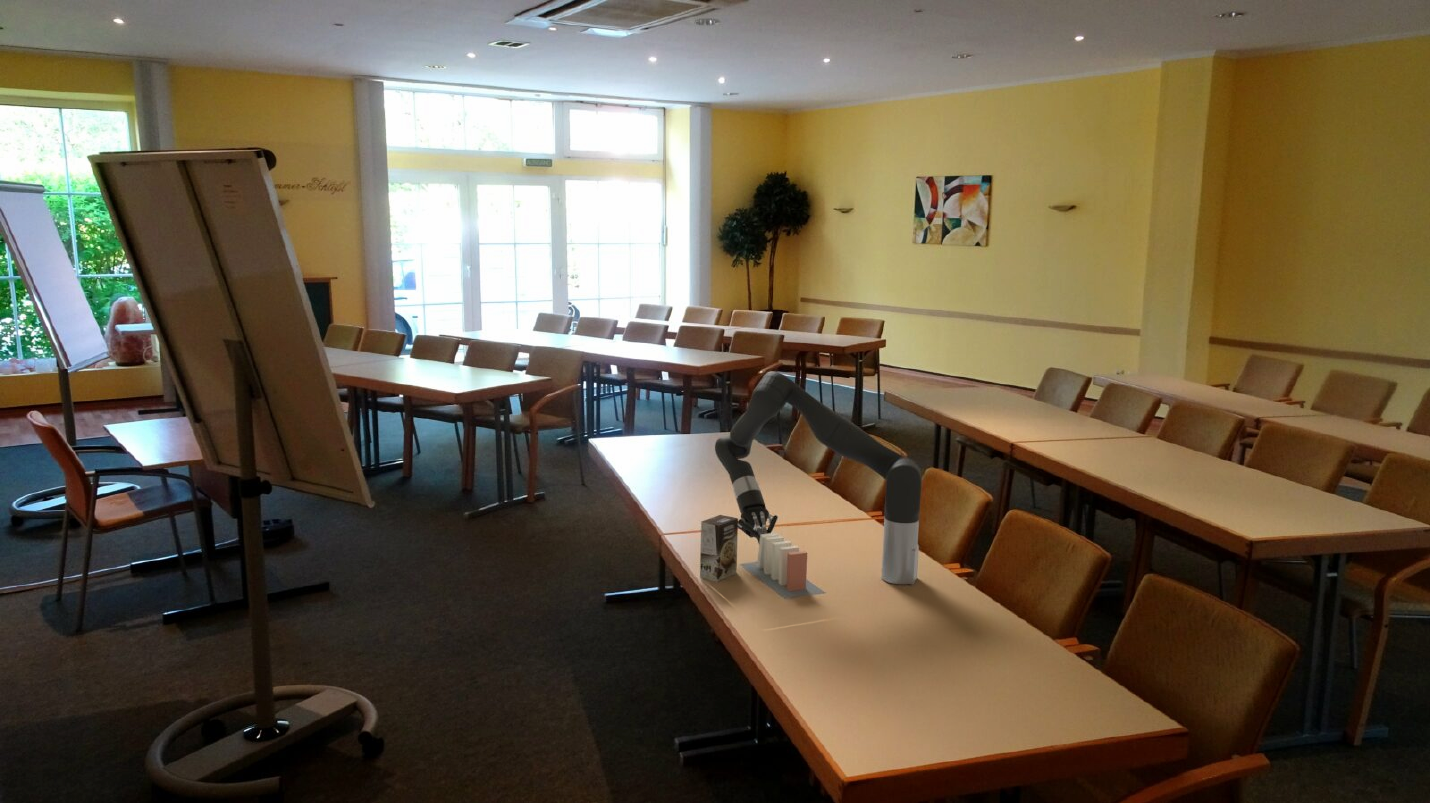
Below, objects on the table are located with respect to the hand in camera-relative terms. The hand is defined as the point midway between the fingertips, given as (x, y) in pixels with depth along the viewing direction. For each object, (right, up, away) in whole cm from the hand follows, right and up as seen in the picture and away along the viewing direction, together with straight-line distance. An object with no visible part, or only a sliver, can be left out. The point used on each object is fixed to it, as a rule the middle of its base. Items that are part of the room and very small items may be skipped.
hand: (766, 548), depth 269 cm
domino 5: (+7, -8, -16) cm, 19 cm away
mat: (+4, -7, -8) cm, 11 cm away
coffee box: (-13, -7, -6) cm, 16 cm away
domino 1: (0, -5, +1) cm, 5 cm away
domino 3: (+4, -7, -8) cm, 11 cm away
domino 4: (+5, -8, -12) cm, 15 cm away
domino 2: (+2, -6, -3) cm, 7 cm away
